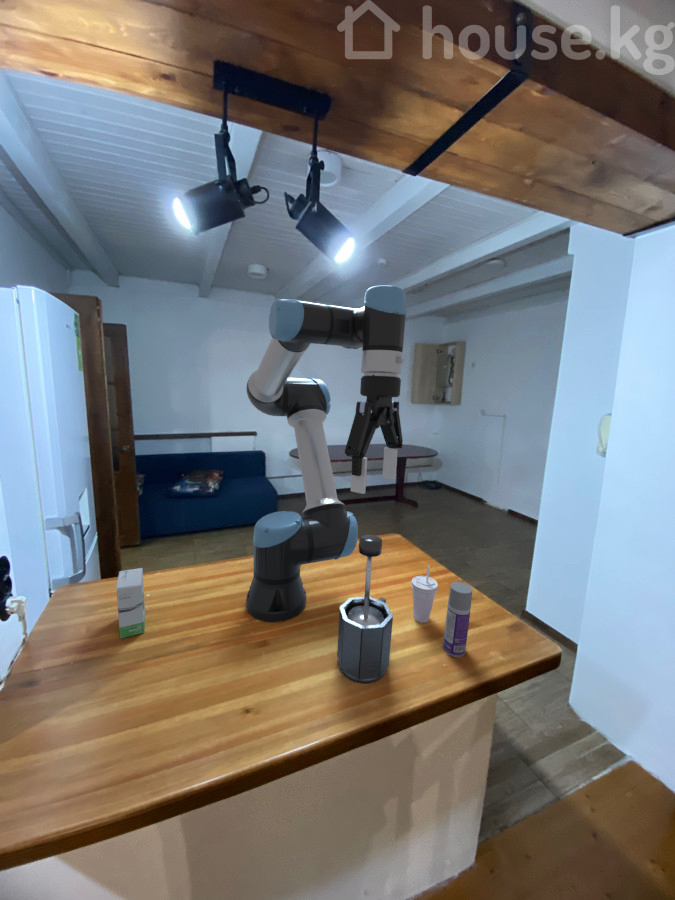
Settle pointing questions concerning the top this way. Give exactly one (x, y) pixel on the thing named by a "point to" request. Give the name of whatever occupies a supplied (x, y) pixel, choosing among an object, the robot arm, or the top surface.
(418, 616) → the smoothie
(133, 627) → the ink box
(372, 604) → the mug
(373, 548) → the plunger
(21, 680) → the top surface
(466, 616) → the container
